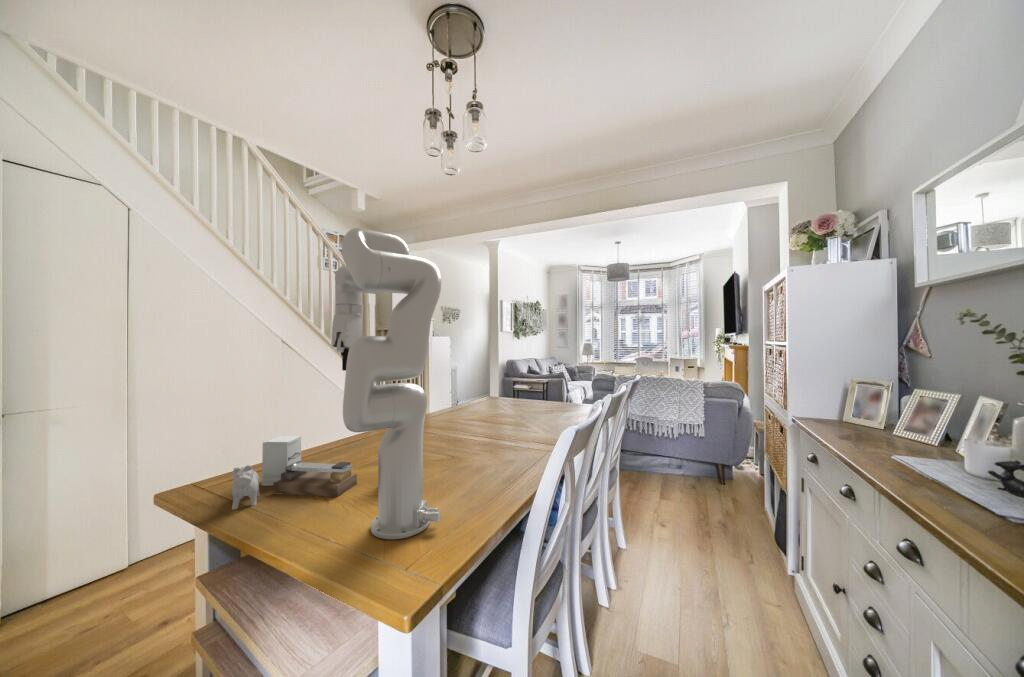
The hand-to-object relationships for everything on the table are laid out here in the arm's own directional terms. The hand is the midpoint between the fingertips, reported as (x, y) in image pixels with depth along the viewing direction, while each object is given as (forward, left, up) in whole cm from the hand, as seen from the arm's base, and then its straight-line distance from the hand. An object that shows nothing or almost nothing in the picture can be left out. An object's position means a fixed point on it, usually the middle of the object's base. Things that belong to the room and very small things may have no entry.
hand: (348, 370), depth 111 cm
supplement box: (+18, +6, -33) cm, 38 cm away
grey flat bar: (+3, +10, -28) cm, 29 cm away
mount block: (+4, +10, -33) cm, 34 cm away
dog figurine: (+15, +21, -33) cm, 42 cm away
